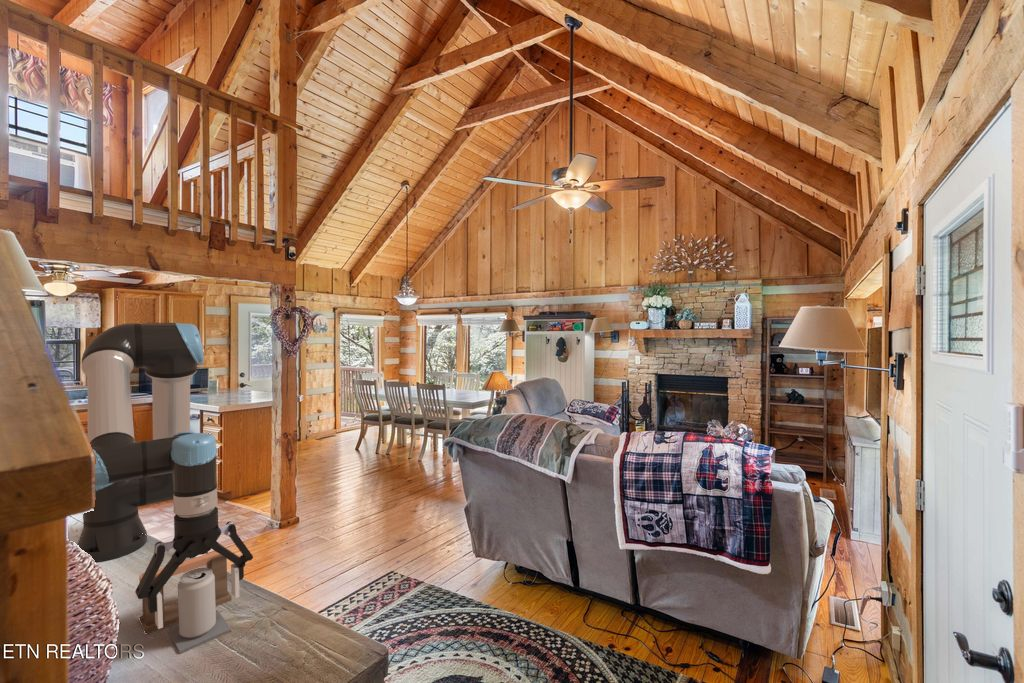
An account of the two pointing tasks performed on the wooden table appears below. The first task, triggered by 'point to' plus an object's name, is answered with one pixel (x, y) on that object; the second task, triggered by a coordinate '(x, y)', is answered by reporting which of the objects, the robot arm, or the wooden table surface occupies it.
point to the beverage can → (196, 602)
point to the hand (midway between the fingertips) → (199, 609)
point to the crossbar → (191, 564)
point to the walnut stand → (171, 611)
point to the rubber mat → (189, 643)
